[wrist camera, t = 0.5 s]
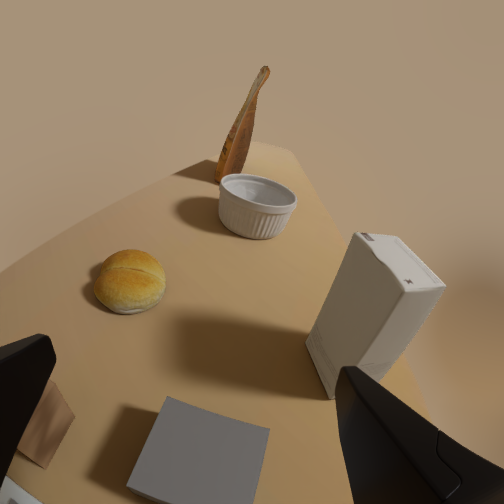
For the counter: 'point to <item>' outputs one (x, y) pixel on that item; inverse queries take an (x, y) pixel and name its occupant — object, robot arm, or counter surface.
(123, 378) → the counter surface
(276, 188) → the ramekin
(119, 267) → the bread roll
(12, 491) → the card
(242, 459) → the charcoal block
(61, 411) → the walnut cube
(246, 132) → the pancake mix bag
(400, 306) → the skincare box
